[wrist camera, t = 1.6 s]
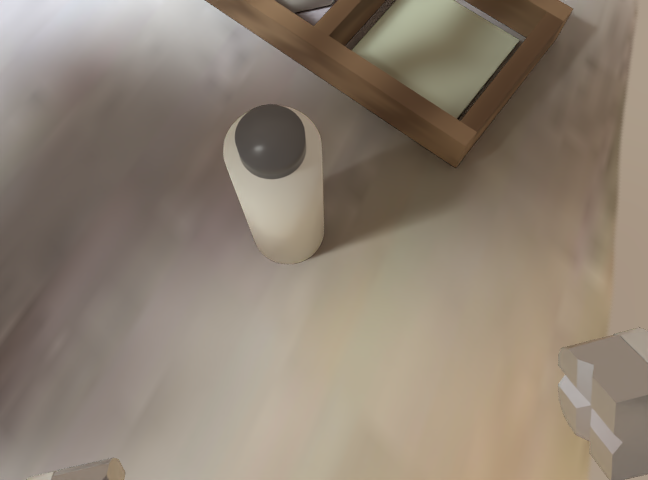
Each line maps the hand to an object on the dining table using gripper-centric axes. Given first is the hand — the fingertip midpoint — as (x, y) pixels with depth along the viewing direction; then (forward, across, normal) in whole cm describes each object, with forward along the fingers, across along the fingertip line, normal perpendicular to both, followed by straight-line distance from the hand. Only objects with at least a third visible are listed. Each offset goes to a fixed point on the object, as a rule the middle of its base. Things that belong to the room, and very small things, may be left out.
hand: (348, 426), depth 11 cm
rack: (+36, -8, -3) cm, 37 cm away
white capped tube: (+25, 0, +8) cm, 27 cm away
